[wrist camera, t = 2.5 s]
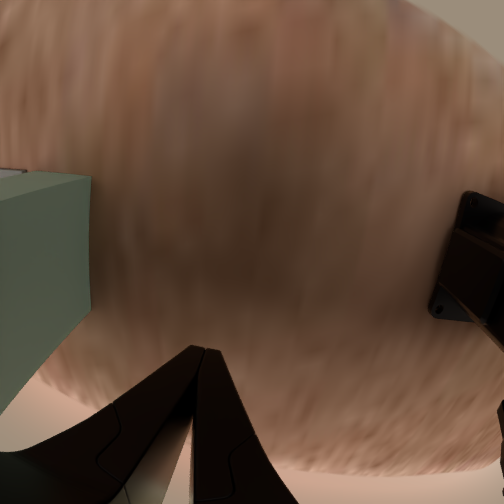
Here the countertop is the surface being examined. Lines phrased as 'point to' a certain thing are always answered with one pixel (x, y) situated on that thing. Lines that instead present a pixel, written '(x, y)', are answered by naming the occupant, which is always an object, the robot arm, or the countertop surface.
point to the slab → (40, 270)
